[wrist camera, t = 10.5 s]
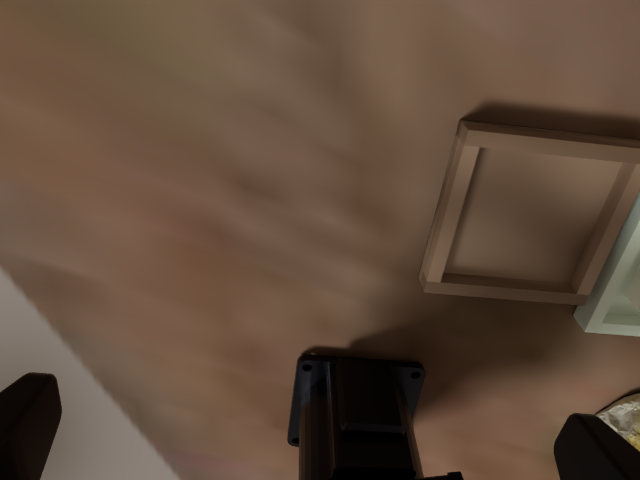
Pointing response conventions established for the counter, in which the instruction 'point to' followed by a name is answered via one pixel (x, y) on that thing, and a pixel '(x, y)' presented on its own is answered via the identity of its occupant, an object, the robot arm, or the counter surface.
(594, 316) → the green tray
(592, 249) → the walnut tray
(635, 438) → the bread roll
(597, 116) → the counter surface
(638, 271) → the letter block
